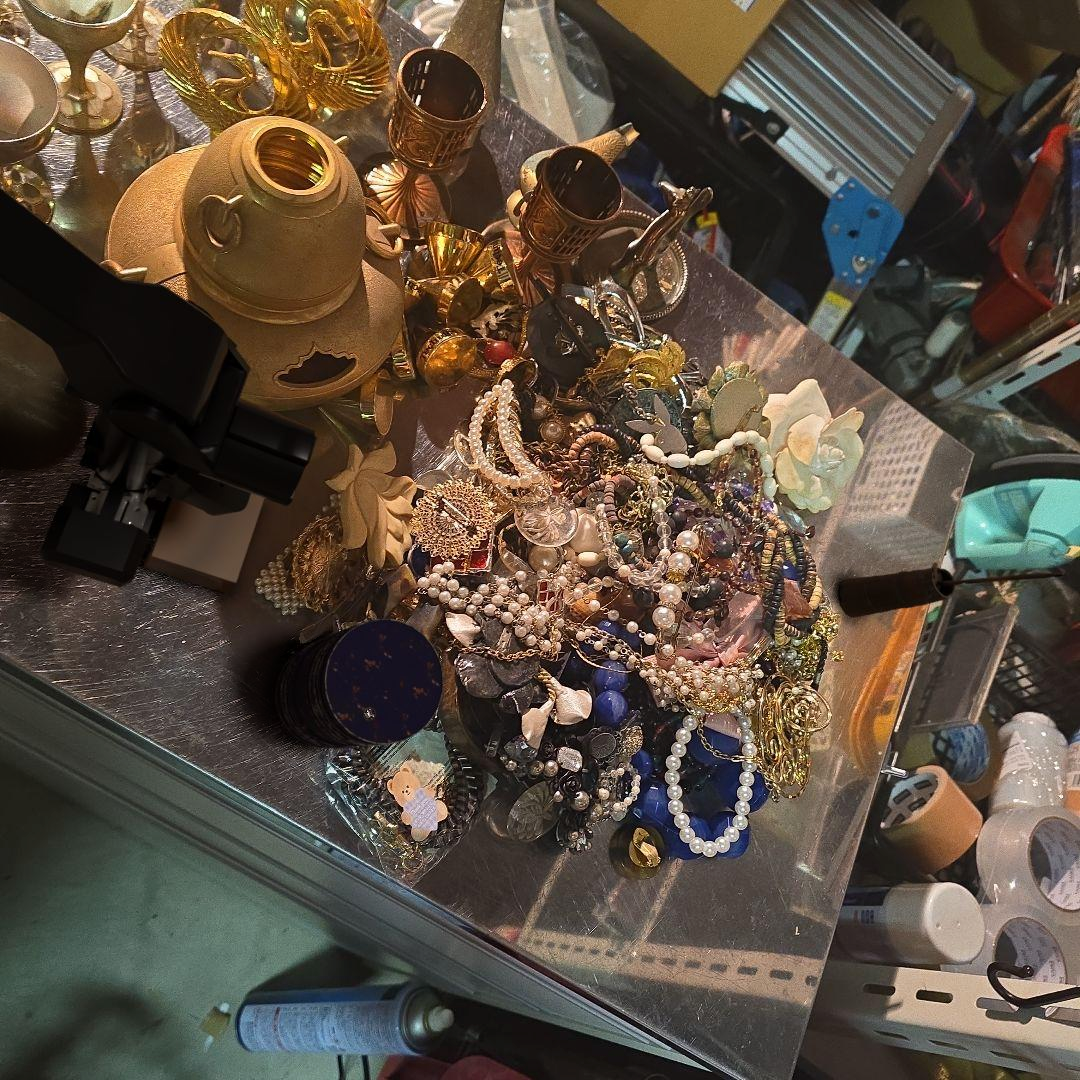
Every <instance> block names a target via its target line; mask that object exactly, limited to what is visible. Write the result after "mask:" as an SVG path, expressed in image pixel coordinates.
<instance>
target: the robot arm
mask: <svg viewBox="0 0 1080 1080" xmlns="http://www.w3.org/2000/svg"><path fill="white" fill-rule="evenodd" d="M0 313H2V314H3V315H4V316H6V317H8V318H9V319H11V320H12V321H14V322H15V323H17V324H18V325H20V326H21V327H23V328H24V329H26V330H27V331H29V332H30V333H32V334H34V335H35V336H36V337H38V338H39V339H40V340H42V341H43V342H44V343H45V344H47V345H48V346H49V347H51V349H52V350H53V352H54V354H55V356H56V358H57V360H58V362H59V365H60V366H61V368H62V371H63V372H64V375H65V376H66V378H67V380H66V383H65V385H64V387H63V392H64V393H65V395H68V396H70V397H72V398H73V397H74V398H76V399H78V400H81V401H83V402H86V403H88V404H90V405H91V404H92V405H94V406H95V407H97V409H96V414H95V416H94V418H93V421H92V423H91V426H90V428H89V430H88V432H87V435H86V438H85V440H84V443H83V446H82V449H84V450H83V453H82V455H81V458H80V460H79V464H78V466H79V467H82V468H84V469H86V470H87V469H88V470H89V471H92V470H93V471H96V472H95V474H94V477H93V479H92V483H91V484H92V485H93V486H94V487H97V488H100V489H102V491H98V490H95V489H92V488H90V487H87V485H84V484H81V483H78V482H75V481H71V482H70V484H69V487H68V489H67V492H66V494H65V496H64V498H63V501H62V503H61V504H58V505H57V508H56V510H55V512H54V514H53V518H52V520H51V521H50V525H49V526H48V529H47V532H46V534H45V536H44V538H43V541H42V543H41V546H40V548H39V553H38V554H39V557H40V558H41V560H42V562H43V564H44V565H45V566H49V567H52V568H54V569H58V570H62V571H65V572H68V573H72V574H75V575H79V576H80V577H81V576H82V577H85V578H88V579H92V580H95V581H98V582H102V583H105V584H108V585H112V586H115V587H118V588H122V587H124V586H126V585H129V584H131V583H132V582H133V580H134V579H135V576H136V574H137V571H138V568H139V565H140V563H141V561H142V558H143V555H144V552H145V549H146V547H147V544H148V542H149V539H150V536H151V534H149V532H150V528H151V526H152V523H153V521H154V518H155V516H156V513H157V510H156V509H154V508H151V507H148V505H147V504H146V502H145V503H144V502H143V501H142V498H143V496H144V493H145V491H146V489H147V490H148V491H147V493H146V496H148V497H147V498H150V499H153V500H157V501H160V502H162V503H164V502H165V501H166V499H167V497H168V498H174V499H177V500H180V501H184V502H186V503H188V504H190V505H192V506H194V507H196V508H198V509H201V510H203V511H205V512H206V513H207V514H209V515H212V516H220V515H225V514H230V513H235V512H240V511H242V510H244V509H245V508H246V506H247V504H248V501H249V498H250V495H251V494H254V495H257V496H259V497H262V498H265V499H264V500H269V501H271V502H274V503H276V504H278V505H282V506H284V507H288V506H290V504H291V503H292V502H293V499H294V496H295V493H296V490H297V487H298V485H299V483H300V481H301V478H302V476H303V474H304V472H305V469H306V467H307V466H308V465H309V464H310V463H311V459H312V455H313V453H314V451H315V448H316V443H317V440H318V437H317V436H316V435H315V434H316V432H315V431H316V429H315V427H313V426H310V425H308V424H306V423H302V422H301V421H298V420H295V419H293V418H291V417H288V416H286V415H283V414H281V413H279V412H276V411H273V410H271V409H269V408H266V407H263V406H261V405H258V404H256V403H254V402H252V401H250V400H246V399H244V398H242V393H243V392H244V388H245V385H246V382H247V380H248V377H249V374H250V372H251V367H250V365H249V364H248V362H247V361H246V359H245V358H244V357H243V355H242V353H240V352H239V351H238V349H237V348H238V345H237V343H236V342H234V340H232V339H231V338H230V336H228V334H227V332H226V331H225V329H224V328H223V327H222V326H221V325H220V324H219V322H218V321H216V319H215V318H214V316H212V315H211V314H210V312H209V311H208V310H206V309H204V308H203V307H201V306H200V305H198V304H196V303H195V301H192V300H190V299H185V298H183V297H182V296H180V294H178V293H177V292H174V291H173V290H172V289H171V288H169V287H167V285H164V284H161V283H152V282H144V281H136V280H130V279H129V280H128V279H123V278H121V277H119V276H117V274H114V272H111V271H110V270H109V269H107V268H106V267H104V266H103V265H101V264H100V263H99V262H97V261H96V260H94V259H93V258H92V257H91V256H89V255H88V253H86V252H84V251H83V250H82V249H81V248H80V247H78V246H77V245H75V244H74V243H73V242H71V240H69V238H67V237H65V236H64V235H63V234H61V233H60V232H59V231H58V230H56V229H55V228H54V227H52V226H51V225H50V224H48V223H47V222H46V221H44V220H43V219H42V218H41V217H40V216H38V215H37V214H36V213H34V212H33V211H32V210H31V209H29V208H28V207H27V206H25V205H24V204H23V203H21V202H20V201H19V200H18V199H16V198H15V197H14V196H12V194H10V193H9V192H7V191H6V190H5V189H3V188H2V187H1V186H0ZM108 482H109V483H110V484H111V486H110V489H109V490H106V486H105V485H104V484H108ZM126 489H129V490H133V491H129V493H128V494H130V495H131V496H124V493H125V490H126Z"/></svg>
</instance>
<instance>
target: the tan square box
mask: <svg viewBox="0 0 1080 1080" xmlns="http://www.w3.org/2000/svg"><path fill="white" fill-rule="evenodd" d="M170 498H171V499H170V501H169V504H168V507H167V508H166V512H165V513H164V514H165V515H164V517H163V519H162V522H161V525H160V528H159V530H158V533H157V536H156V538H155V541H154V544H153V546H152V548H151V550H150V551H149V553H148V554H147V556H146V559H145V561H144V564H143V568H144V569H145V570H146V569H147V570H150V571H152V572H156V573H159V574H162V575H166V576H169V577H172V578H175V579H179V580H181V581H185V582H188V583H191V584H194V585H197V586H201V587H204V588H208V589H211V590H214V591H217V592H221V593H223V594H225V593H226V592H227V591H228V590H230V589H231V588H232V587H233V586H235V585H236V584H238V580H239V577H240V574H241V572H242V568H243V565H244V562H245V560H246V556H247V553H248V550H249V547H250V544H251V541H252V538H253V535H254V532H255V529H256V526H257V523H258V521H259V518H260V514H261V511H262V509H263V505H264V502H265V500H266V499H265V498H262V497H259V496H257V495H254V494H251V495H250V498H249V501H248V504H247V506H246V508H245V509H244V510H242V511H240V512H235V513H230V514H225V515H220V516H212V515H209V514H207V513H206V512H205V511H203V510H201V509H198V508H196V507H194V506H192V505H190V504H188V503H186V502H184V501H180V500H177V499H174V498H172V497H170Z"/></svg>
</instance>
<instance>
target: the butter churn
mask: <svg viewBox="0 0 1080 1080" xmlns="http://www.w3.org/2000/svg"><path fill="white" fill-rule="evenodd" d="M1064 575H1065V574H1064V572H1036V573H1023V574H1015V575H1006V576H1005V575H1004V576H992V577H991V576H990V577H981V578H969V579H967V578H966V579H960V580H959V579H958V580H957V579H956V580H955V578H954V576H953V575H952V573H951V572H950V571H949V570H947V569H946V568H941V567H939V566H938V563H937V562H934V563H933V564H932V565H931V567H929V568H924V569H914V570H903V571H898V572H895V573H888V574H881V575H878V574H877V575H871V576H861V577H850V578H846V579H844V580H843V581H842V582H841V583H840V584H839V587H840V589H839V597H840V607H842V610H843V612H844V613H845V614H846V616H849V617H851V618H861V617H865V616H871V615H875V614H882V613H883V614H884V613H887V612H890V611H896V610H901V609H909V608H910V609H912V608H913V609H914V608H915V607H920V606H921V607H922V606H925V605H929V604H934V603H938V602H942V601H945V600H947V599H950V597H952V596H953V597H954V594H955V591H956V588H957V587H956V586H958V585H960V586H961V585H962V584H966V585H972V584H984V583H985V584H986V583H994V582H995V583H997V582H1009V581H1022V580H1023V581H1024V580H1036V579H1038V580H1039V579H1048V578H1049V579H1050V578H1058V577H1059V578H1061V577H1063V576H1064Z"/></svg>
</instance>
